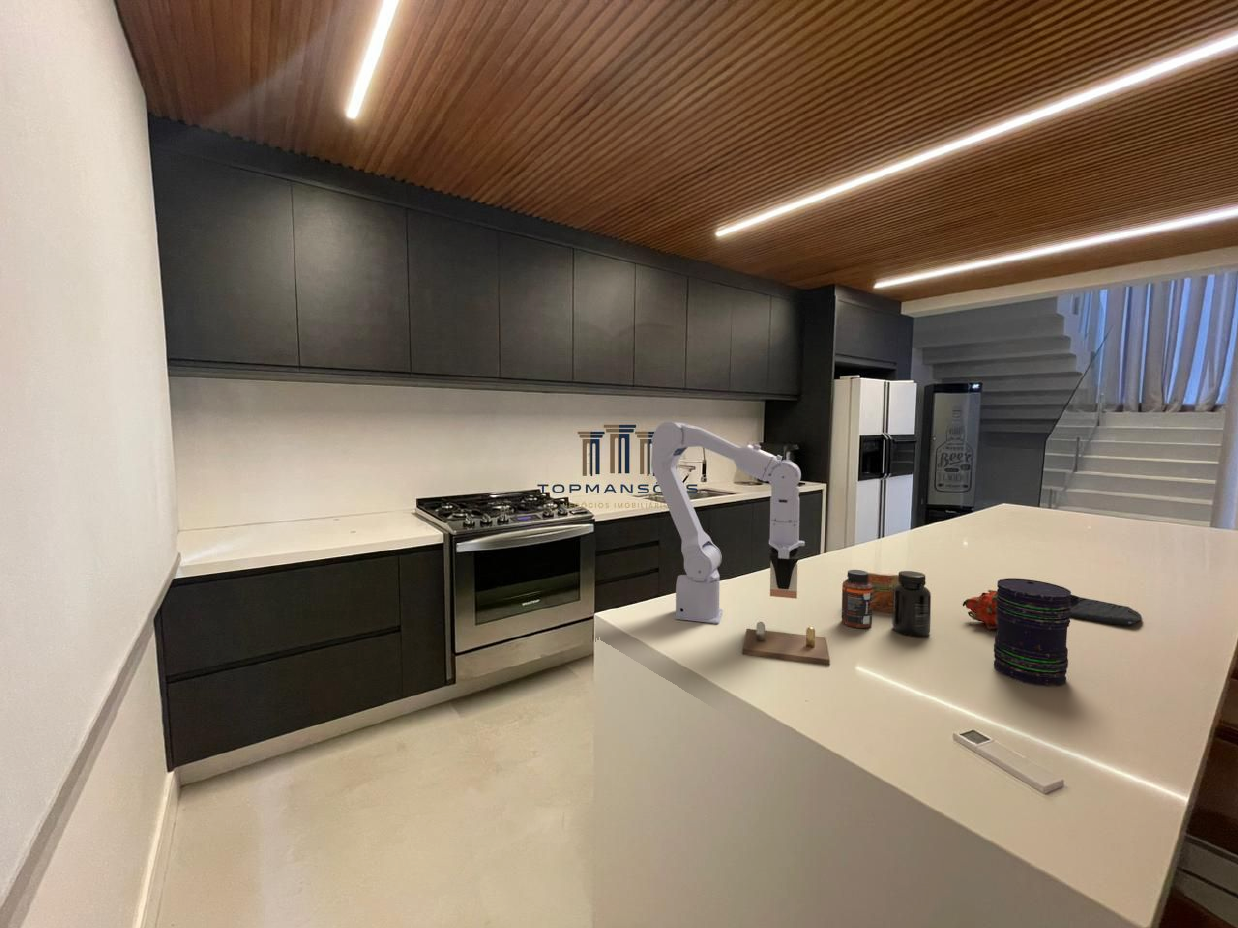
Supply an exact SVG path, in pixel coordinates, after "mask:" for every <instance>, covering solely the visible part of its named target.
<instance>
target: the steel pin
mask: <svg viewBox="0 0 1238 928" xmlns="http://www.w3.org/2000/svg"><path fill="white" fill-rule="evenodd" d="M756 630H757V633H756V640H757V641H759V642H764V641H765V631H766V624H765V623H764V621H759V622H757V623H756Z"/></svg>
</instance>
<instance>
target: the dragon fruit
mask: <svg viewBox="0 0 1238 928" xmlns="http://www.w3.org/2000/svg"><path fill="white" fill-rule="evenodd" d="M996 596H997V590H994V589H993V590H992V589H987V592H981V594H980V595H979V596H974V597H971V598H967V599H965V601H963V602H962V607H965V608H966V609H967V610H970V611H968V612H967V613H968V616H969V617H971V618H972V620H975V621H977V622H980V623H983V625H985V626H986V628H987V629H988V630H991V631H992V630H997V620H998V615H997V613H996V606H997V603H996Z"/></svg>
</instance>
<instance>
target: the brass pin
mask: <svg viewBox="0 0 1238 928" xmlns="http://www.w3.org/2000/svg"><path fill="white" fill-rule="evenodd" d="M805 630H806V631H805V635H806V646H807V647H809V648H814V647H815V636H816V630H815V628H814V627H813V626H812V627H811V626H808V627H807V628H806V629H805Z"/></svg>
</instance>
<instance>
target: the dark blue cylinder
mask: <svg viewBox="0 0 1238 928" xmlns="http://www.w3.org/2000/svg"><path fill="white" fill-rule="evenodd" d="M996 591H997V596H996V603H997V606H996V613H997V615H998V620H997V628H996V633H995V635H994V643H993V653H994V656H993V657H994V661H993V667H994V669H995V670H996V671H997V672H998V673H1000V674H1002V675H1003V676H1005V677H1007V678H1010V679H1012V680H1014V681H1017V682H1021V683H1023V684H1027V685H1033V686H1038V687H1045V688H1046V687H1047V688H1051V687H1052V688H1056V687H1057V686H1059V687H1062V686H1064V685H1065V684H1067V683H1066V682H1067V677H1066V674H1067V669H1068V668H1069V659H1068V657H1069V656H1068V654H1069V653H1068V652H1069V650H1068V647H1067V637H1068V628H1069V626H1070V623H1071V620H1070V618H1071V617H1069V616H1070V615H1071V607H1070V602H1071V601H1070V600H1069V599H1070V598H1071V595H1072V592H1071V590H1070V589H1067V588H1066V587H1065V586H1062V585H1058V584H1055V583H1051V582H1047V581H1041V580H1035V579H1027V578H1016V577H1015V578H1014V577H1013V578H1012V577H1011V578H1001V579H998V580H997V589H996ZM1057 688H1058V687H1057Z"/></svg>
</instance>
